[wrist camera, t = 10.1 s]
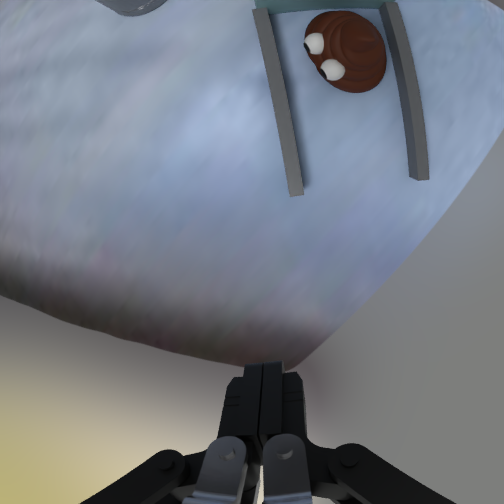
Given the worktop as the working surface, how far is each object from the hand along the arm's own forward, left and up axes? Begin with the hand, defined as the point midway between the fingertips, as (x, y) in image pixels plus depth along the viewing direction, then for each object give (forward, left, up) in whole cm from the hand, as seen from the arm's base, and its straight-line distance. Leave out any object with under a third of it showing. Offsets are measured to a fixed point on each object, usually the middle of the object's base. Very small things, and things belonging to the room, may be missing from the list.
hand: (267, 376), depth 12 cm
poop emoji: (-17, +11, -25) cm, 32 cm away
